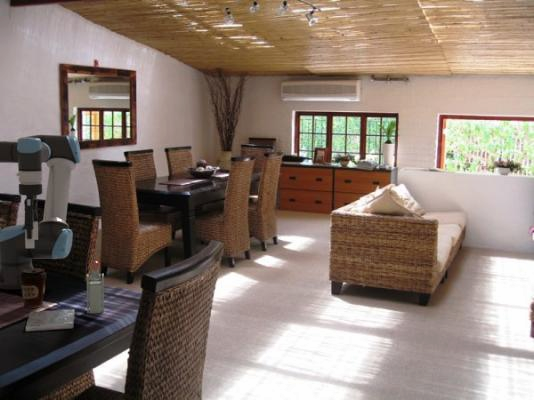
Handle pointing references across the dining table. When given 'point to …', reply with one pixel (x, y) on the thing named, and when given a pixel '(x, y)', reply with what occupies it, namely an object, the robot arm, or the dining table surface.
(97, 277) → the lever
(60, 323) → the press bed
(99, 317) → the dining table surface
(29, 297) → the coffee cup
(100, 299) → the press column
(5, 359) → the dining table surface
